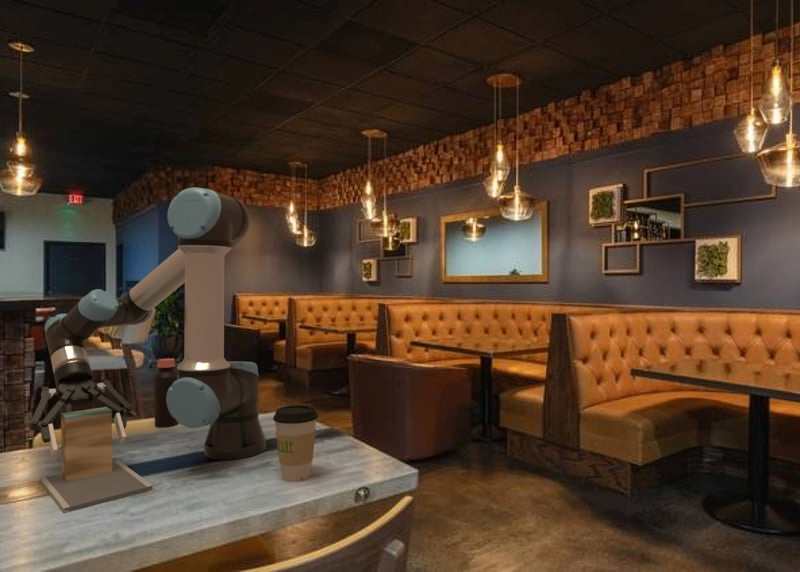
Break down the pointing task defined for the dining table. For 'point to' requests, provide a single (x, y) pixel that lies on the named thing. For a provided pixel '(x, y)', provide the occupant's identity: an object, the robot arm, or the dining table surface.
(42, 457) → the dining table surface
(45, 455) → the dining table surface
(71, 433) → the oak slab
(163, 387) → the bottle
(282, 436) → the coffee cup
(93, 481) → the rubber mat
